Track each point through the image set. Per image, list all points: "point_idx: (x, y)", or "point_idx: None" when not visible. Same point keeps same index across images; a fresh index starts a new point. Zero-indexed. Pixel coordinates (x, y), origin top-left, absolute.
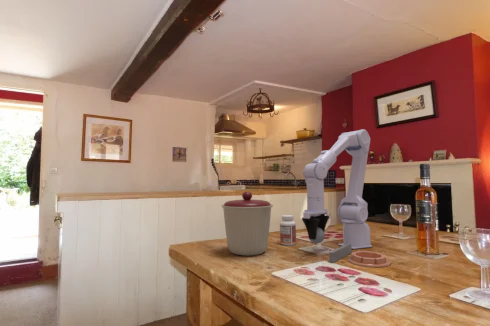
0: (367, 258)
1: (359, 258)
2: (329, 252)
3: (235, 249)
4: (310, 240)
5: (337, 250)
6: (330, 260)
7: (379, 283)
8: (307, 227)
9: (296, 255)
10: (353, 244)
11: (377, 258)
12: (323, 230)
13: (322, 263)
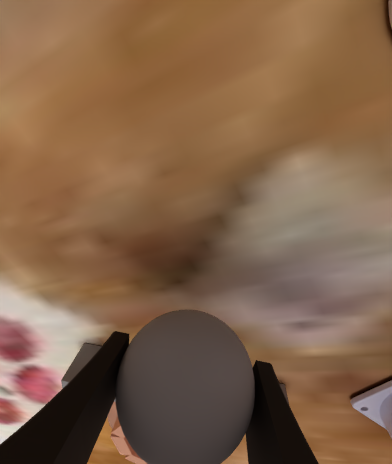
0: (118, 444)
1: (113, 428)
2: (61, 380)
3: None
4: (160, 316)
5: (115, 401)
6: (80, 352)
7: (7, 424)
8: (31, 432)
9: (95, 205)
10: (386, 420)
11: (136, 459)
12: (249, 452)
13: (55, 326)
